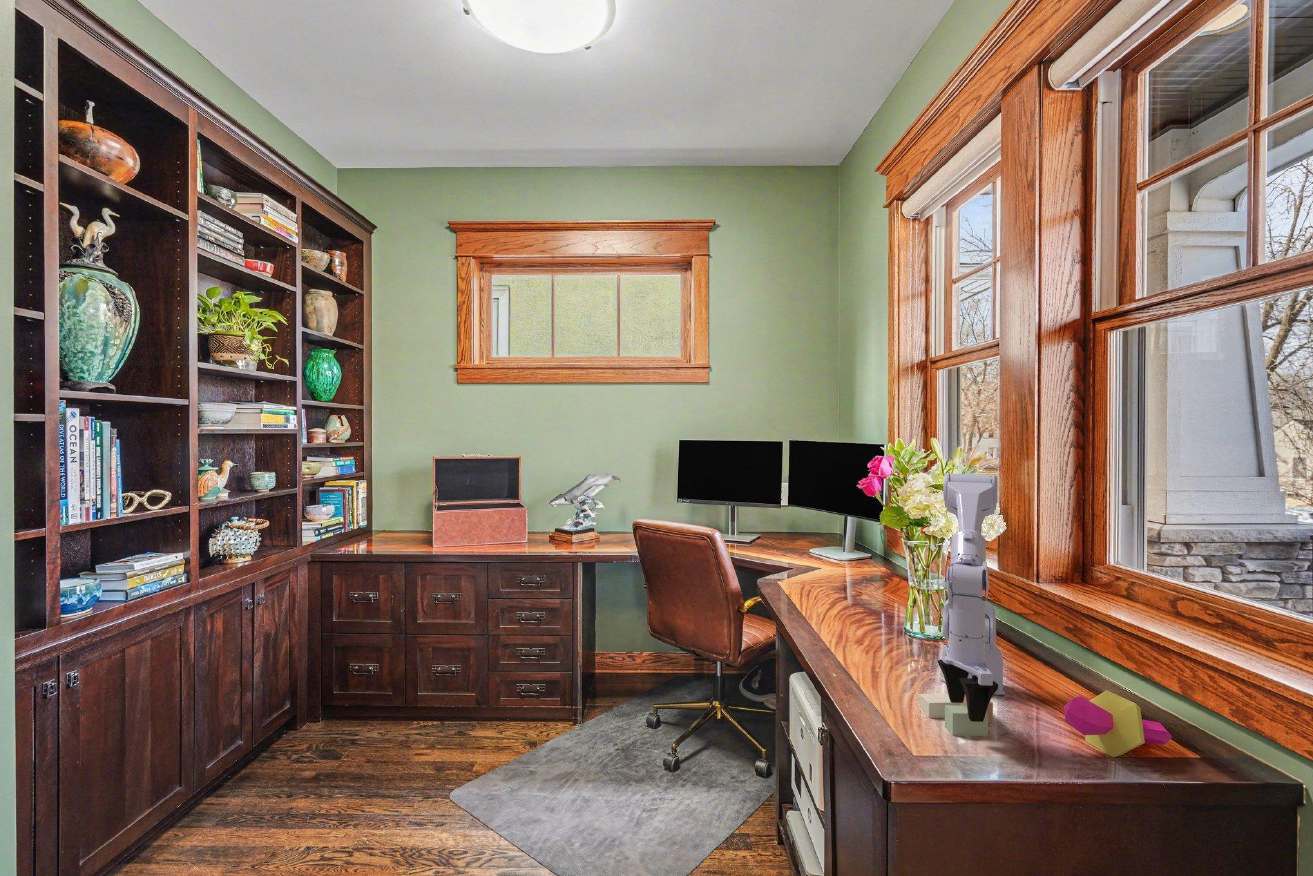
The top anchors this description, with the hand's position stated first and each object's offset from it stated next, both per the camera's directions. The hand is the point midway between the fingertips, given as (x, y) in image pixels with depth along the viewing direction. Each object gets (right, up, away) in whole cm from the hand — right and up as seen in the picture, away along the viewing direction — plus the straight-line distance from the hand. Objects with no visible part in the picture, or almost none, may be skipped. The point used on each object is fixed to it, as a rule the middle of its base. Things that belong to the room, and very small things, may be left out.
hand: (966, 711), depth 112 cm
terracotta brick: (+5, -4, +6) cm, 8 cm away
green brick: (0, -4, 0) cm, 4 cm away
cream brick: (-1, -4, +8) cm, 9 cm away
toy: (+22, -4, -6) cm, 23 cm away
